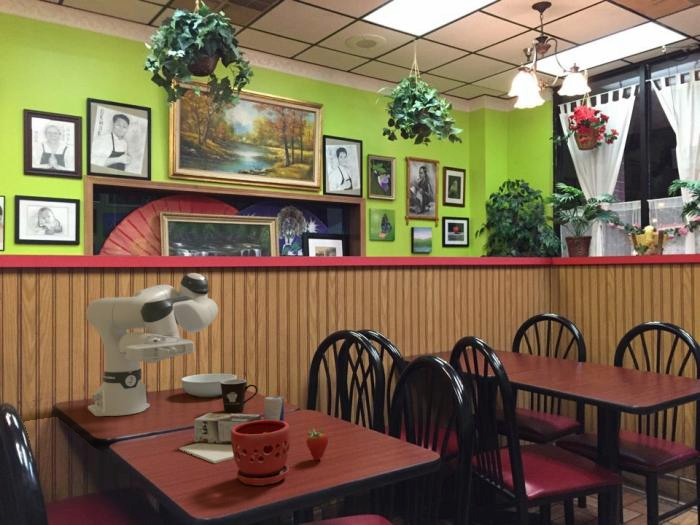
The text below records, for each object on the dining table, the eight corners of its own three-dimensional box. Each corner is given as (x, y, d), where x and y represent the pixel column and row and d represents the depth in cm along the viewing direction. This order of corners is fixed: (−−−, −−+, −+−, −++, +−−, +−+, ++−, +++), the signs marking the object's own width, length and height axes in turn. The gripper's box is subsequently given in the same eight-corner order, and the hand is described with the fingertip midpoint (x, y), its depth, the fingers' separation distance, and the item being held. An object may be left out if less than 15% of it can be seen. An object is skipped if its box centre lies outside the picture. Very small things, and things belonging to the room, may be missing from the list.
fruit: (304, 457, 150) (304, 425, 150) (325, 455, 152) (325, 423, 152) (309, 463, 145) (308, 430, 146) (330, 461, 147) (330, 428, 147)
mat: (179, 449, 159) (179, 447, 159) (224, 438, 169) (224, 436, 169) (214, 463, 147) (214, 461, 147) (261, 450, 157) (261, 448, 157)
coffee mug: (215, 413, 200) (215, 383, 201) (230, 407, 208) (229, 378, 209) (245, 415, 196) (245, 385, 196) (259, 409, 204) (258, 380, 204)
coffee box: (193, 443, 163) (248, 446, 159) (193, 419, 163) (248, 421, 159) (209, 434, 171) (262, 437, 167) (209, 412, 172) (262, 414, 168)
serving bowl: (247, 391, 236) (247, 374, 237) (214, 402, 217) (214, 383, 217) (204, 388, 245) (204, 371, 245) (169, 398, 226) (169, 380, 226)
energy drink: (287, 439, 167) (286, 396, 167) (279, 444, 162) (278, 400, 162) (270, 437, 169) (269, 395, 169) (261, 443, 164) (260, 399, 164)
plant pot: (267, 465, 144) (267, 415, 145) (302, 478, 135) (301, 425, 135) (220, 479, 135) (219, 426, 136) (253, 494, 126) (252, 437, 126)
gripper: (117, 341, 177) (137, 345, 167) (180, 335, 191) (203, 338, 181) (117, 362, 177) (138, 367, 167) (180, 355, 191) (203, 359, 181)
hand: (172, 352), depth 174 cm, fingers closed
